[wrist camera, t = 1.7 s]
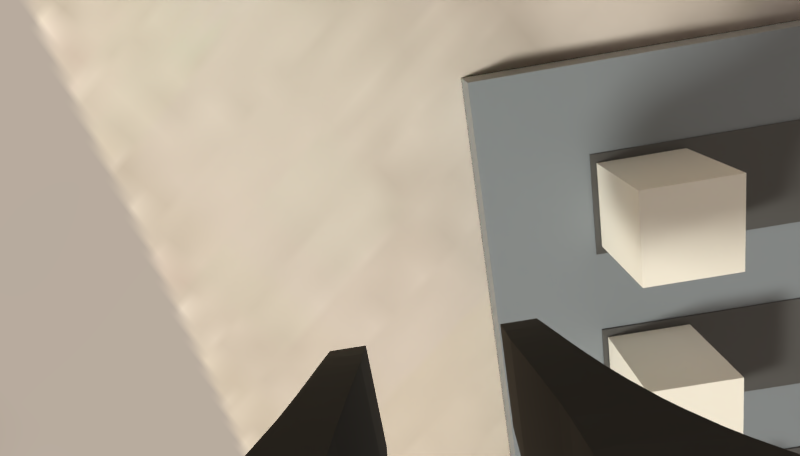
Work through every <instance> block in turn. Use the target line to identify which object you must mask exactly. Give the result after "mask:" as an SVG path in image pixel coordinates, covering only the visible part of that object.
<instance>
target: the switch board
mask: <svg viewBox="0 0 800 456" xmlns="http://www.w3.org/2000/svg"><path fill="white" fill-rule="evenodd" d="M461 82H462V89H463V97H464V104H465V112H466V120H467V127H468V135H469V143H470V150H471V158H472V165H473V173H474V181H475V188H476V196H477V204H478V211H479V219H480V226H481V234H482V242H483V249H484V257H485V264H486V272H487V280H488V287H489V295H490V303H491V310H492V318H493V325H494V333H495V341H496V348H497V356H498V364H499V371H500V379H501V386H502V394H503V402H504V409H505V417H506V425H507V432H508V440H509V447H510V455H511V456H521V455H520V451H519V447H518V443H517V440H516V436H515V432H514V428H513V421H512V413H511V406H510V398H509V390H508V382H507V374H506V366H505V358H504V351H503V343H502V335H501V327H500V324H504V323H510V322H516V321H523V320H529V319H535V318H537V319H538V320H540V321H541V322H543V323H544V324H546V325H547V326H549V327H550V328H551V329H553V330H554V331H555V332H557V333H558V334H560V335H561V336H562V337H564V338H565V339H567V340H568V341H570V342H571V343H572V344H574V345H575V346H577V347H578V348H580V349H581V350H583V351H584V352H586V353H587V354H589V355H590V356H592V357H593V358H595V359H596V360H598V361H599V362H601V363H602V364H604V365H606V366H607V367H609V368H610V358H609V343H608V337H613V336H619V335H625V334H631V333H638V332H644V331H650V330H657V329H663V328H669V327H676V326H682V325H688V324H690V325H691V326H692V327H693V328H694V329H695V330H696V331H697V332H698V333H699V334H700V335H701V336H702V337H703V338H704V339H705V340H706V341H707V342H708V343H709V344H710V345H711V346H712V347H713V348H714V349H715V350H716V351H718V352H719V353H720V354H721V355H722V356H723V357H724V358H725V359H726V360H727V361H728V362H729V363H730V364H731V365H732V366H733V367H734V368H735V369H736V370H737V371H738V372H739V373H740V374H741V375H742V376H743V377H744V421H743V434H745V435H747V436H750V437H752V438H755V439H758V440H761V441H764V442H766V443H769V444H772V445H775V446H778V447H781V448H783V449H786V450H789V451H792V452H795V453H798V454H800V20H796V21H791V22H785V23H779V24H773V25H767V26H761V27H756V28H750V29H744V30H738V31H732V32H727V33H721V34H715V35H709V36H703V37H697V38H692V39H686V40H680V41H674V42H668V43H662V44H657V45H651V46H645V47H639V48H633V49H627V50H622V51H616V52H610V53H604V54H598V55H592V56H587V57H581V58H575V59H569V60H563V61H557V62H552V63H546V64H540V65H534V66H528V67H522V68H517V69H511V70H505V71H499V72H493V73H488V74H482V75H476V76H470V77H464V78H461ZM684 148H687V149H690V150H692V151H695V152H697V153H699V154H702V155H704V156H707V157H709V158H712V159H714V160H716V161H719V162H721V163H724V164H726V165H728V166H731V167H733V168H736V169H738V170H740V171H743V172H745V173H746V247H745V272H740V273H734V274H728V275H722V276H716V277H709V278H703V279H697V280H691V281H684V282H678V283H672V284H666V285H660V286H653V287H647V288H642V287H641V286H640V285H639V284H638V283H637V282H636V281H635V280H634V278H633V277H632V276H631V275H630V274H629V273H628V272H627V271H626V270H625V269H624V268H623V267H622V266H621V265H620V264H619V263H618V262H617V261H616V260H615V259H614V258H613V257H612V256H611V255H610V254H609V253H608V252H607V251H606V250H605V249H604V248H603V247H602V238H601V223H600V208H599V193H598V177H597V163H600V162H606V161H612V160H618V159H624V158H630V157H636V156H642V155H648V154H654V153H660V152H666V151H672V150H678V149H684Z"/></svg>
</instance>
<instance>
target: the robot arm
mask: <svg viewBox="0 0 800 456" xmlns="http://www.w3.org/2000/svg"><path fill="white" fill-rule="evenodd" d="M500 327H501V335H502V343H503V351H504V358H505V366H506V374H507V382H508V390H509V398H510V406H511V413H512V421H513V428H514V432H515V436H516V440H517V443H518V447H519V451H520V455H521V456H800V454H798V453H795V452H792V451H789V450H786V449H783V448H781V447H778V446H775V445H772V444H769V443H766V442H764V441H761V440H758V439H755V438H752V437H750V436H747V435H745V434H742V433H740V432H737V431H734V430H732V429H729V428H727V427H724V426H722V425H720V424H718V423H715V422H713V421H711V420H709V419H706V418H704V417H702V416H700V415H697V414H695V413H693V412H691V411H688V410H686V409H684V408H682V407H680V406H678V405H676V404H674V403H672V402H670V401H668V400H666V399H664V398H662V397H660V396H658V395H656V394H654V393H652V392H651V391H649V390H647V389H645V388H643V387H642V386H640V385H638V384H636V383H634V382H632V381H631V380H629V379H627V378H625V377H624V376H622V375H620V374H619V373H617V372H615V371H614V370H612V369H610V368H609V367H607V366H606V365H604V364H602V363H601V362H599V361H598V360H596V359H595V358H593V357H592V356H590V355H589V354H587V353H586V352H584V351H583V350H581V349H580V348H578V347H577V346H575V345H574V344H572V343H571V342H570V341H568V340H567V339H565V338H564V337H562V336H561V335H560V334H558V333H557V332H555V331H554V330H553V329H551V328H550V327H549V326H547V325H546V324H544V323H543V322H541V321H540V320H538V319H537V318H535V319H529V320H523V321H516V322H510V323H504V324H500ZM245 456H387V447H386V442H385V437H384V432H383V427H382V422H381V418H380V413H379V408H378V403H377V398H376V393H375V388H374V384H373V379H372V374H371V369H370V364H369V359H368V354H367V350H366V346H360V347H354V348H348V349H342V350H335V351H330V352H329V353H328V355H327V356H326V357H325V358H324V360H323V361H322V362H321V364H320V365H319V366H318V368H317V369H316V370H315V372H314V373H313V374H312V376H311V377H310V378H309V380H308V381H307V382H306V384H305V385H304V386H303V388H302V389H301V390H300V392H299V393H298V394H297V396H296V397H295V398H294V399H293V401H292V402H291V403H290V404H289V406H288V407H287V408H286V409H285V411H284V412H283V413H282V414H281V416H280V417H279V418H278V419H277V421H276V422H275V423H274V424H273V425H272V426H271V427H270V428H269V430H268V431H267V432H266V433H265V434H264V435H263V436H262V437H261V439H260V440H259V441H258V442H257V443H256V444H255V445H254V446H253V448H252V449H251V450H250V451H249V452H248V453H247V454H246V455H245Z"/></svg>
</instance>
